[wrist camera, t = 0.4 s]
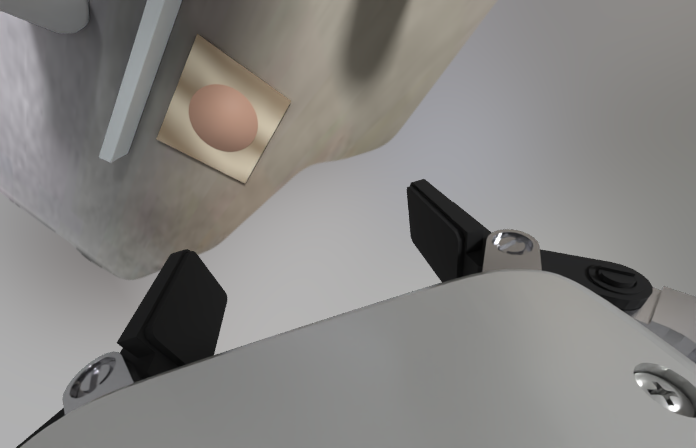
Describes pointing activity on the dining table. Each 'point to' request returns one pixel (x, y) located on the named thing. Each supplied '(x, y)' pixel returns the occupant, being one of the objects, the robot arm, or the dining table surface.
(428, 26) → the dining table surface
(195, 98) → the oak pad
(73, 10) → the salt shaker
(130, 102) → the acrylic wall
